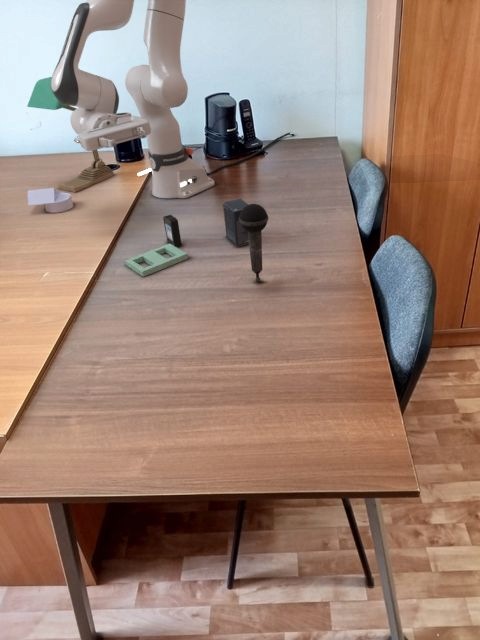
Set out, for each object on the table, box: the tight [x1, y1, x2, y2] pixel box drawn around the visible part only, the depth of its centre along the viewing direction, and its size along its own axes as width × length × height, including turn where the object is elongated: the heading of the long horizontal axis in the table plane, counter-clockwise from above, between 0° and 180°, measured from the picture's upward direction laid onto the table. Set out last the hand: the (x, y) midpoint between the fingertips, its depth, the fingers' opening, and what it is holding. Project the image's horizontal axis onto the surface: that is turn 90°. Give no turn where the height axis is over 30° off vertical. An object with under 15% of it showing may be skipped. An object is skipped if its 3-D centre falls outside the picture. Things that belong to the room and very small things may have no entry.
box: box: [222, 198, 249, 248], centre depth 148 cm, size 8×6×11 cm
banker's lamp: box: [26, 76, 115, 193], centre depth 187 cm, size 16×21×35 cm
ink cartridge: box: [162, 214, 182, 248], centre depth 149 cm, size 5×2×8 cm, turn 34°
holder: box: [125, 243, 189, 277], centre depth 143 cm, size 14×9×2 cm, turn 130°
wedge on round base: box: [27, 187, 74, 214], centre depth 177 cm, size 9×7×13 cm
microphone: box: [239, 203, 269, 283], centre depth 126 cm, size 7×7×20 cm
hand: (128, 139), depth 143 cm, fingers open, 8 cm apart
